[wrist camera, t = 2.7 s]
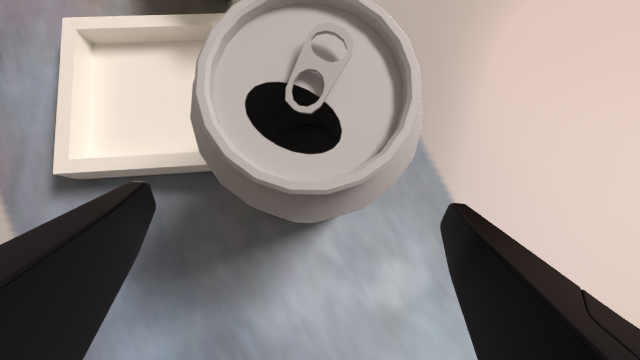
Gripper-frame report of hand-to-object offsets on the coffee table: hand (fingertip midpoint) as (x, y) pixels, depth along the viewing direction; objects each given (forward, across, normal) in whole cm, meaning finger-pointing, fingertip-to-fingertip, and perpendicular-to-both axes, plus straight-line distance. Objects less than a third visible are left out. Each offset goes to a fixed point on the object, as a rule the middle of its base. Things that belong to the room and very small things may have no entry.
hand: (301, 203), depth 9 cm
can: (+10, 0, +5) cm, 11 cm away
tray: (+12, +10, +2) cm, 16 cm away
